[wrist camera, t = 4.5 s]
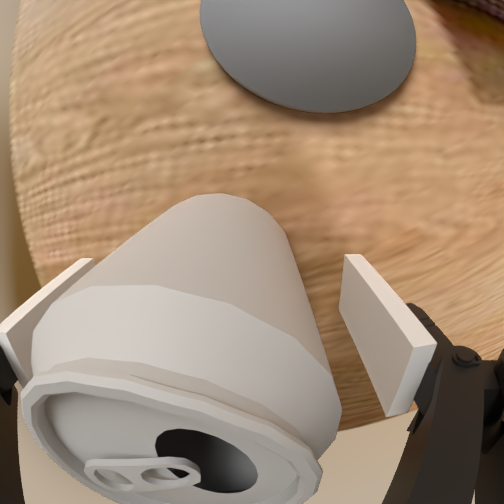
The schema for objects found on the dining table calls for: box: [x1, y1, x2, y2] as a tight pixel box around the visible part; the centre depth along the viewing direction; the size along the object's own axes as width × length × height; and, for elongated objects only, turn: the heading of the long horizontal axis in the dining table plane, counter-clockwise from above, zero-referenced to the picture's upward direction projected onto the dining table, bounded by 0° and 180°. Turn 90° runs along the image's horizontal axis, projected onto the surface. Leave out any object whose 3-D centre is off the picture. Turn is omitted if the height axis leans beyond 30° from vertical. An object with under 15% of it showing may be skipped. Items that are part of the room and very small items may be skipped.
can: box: [21, 193, 342, 504], centre depth 10 cm, size 8×8×12 cm
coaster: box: [200, 0, 416, 113], centre depth 10 cm, size 11×11×1 cm
